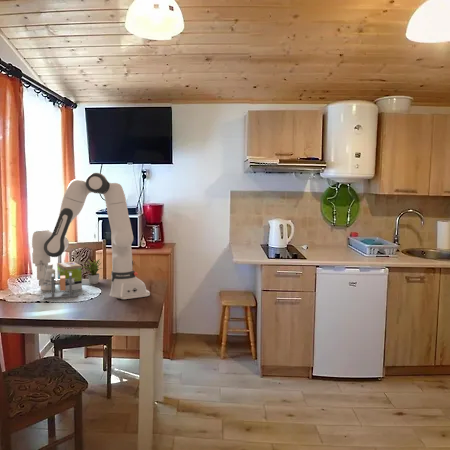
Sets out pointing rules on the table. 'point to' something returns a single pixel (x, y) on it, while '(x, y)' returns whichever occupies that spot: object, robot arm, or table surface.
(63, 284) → the spacer
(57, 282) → the shaft
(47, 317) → the table surface
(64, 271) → the tea box
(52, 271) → the pill bottle
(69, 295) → the grey post stand
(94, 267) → the house plant
